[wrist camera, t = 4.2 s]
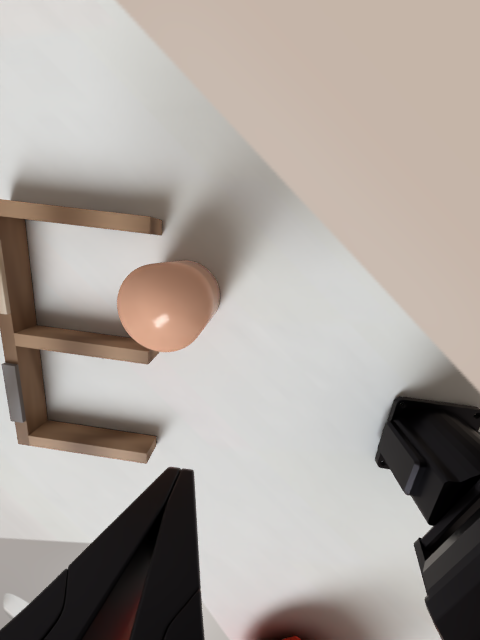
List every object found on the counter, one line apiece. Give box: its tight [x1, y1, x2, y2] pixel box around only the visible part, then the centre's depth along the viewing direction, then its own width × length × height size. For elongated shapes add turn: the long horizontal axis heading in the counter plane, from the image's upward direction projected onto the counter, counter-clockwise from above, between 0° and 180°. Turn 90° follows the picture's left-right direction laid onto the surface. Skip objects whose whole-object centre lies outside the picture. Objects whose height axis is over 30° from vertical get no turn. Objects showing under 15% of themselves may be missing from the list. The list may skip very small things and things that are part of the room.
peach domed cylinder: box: [117, 260, 220, 352], centre depth 16 cm, size 5×5×5 cm
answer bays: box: [0, 199, 162, 464], centre depth 19 cm, size 11×19×2 cm, turn 174°
